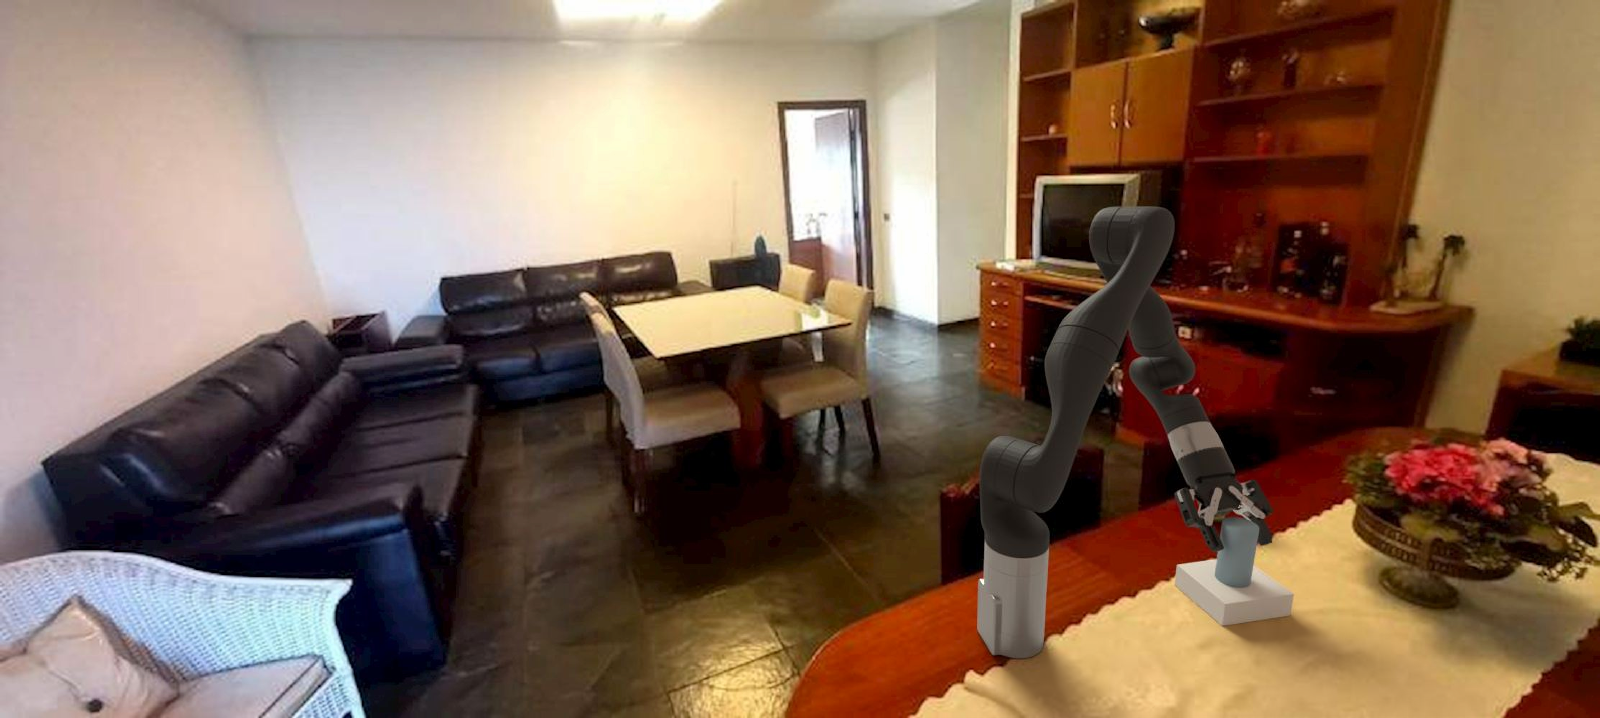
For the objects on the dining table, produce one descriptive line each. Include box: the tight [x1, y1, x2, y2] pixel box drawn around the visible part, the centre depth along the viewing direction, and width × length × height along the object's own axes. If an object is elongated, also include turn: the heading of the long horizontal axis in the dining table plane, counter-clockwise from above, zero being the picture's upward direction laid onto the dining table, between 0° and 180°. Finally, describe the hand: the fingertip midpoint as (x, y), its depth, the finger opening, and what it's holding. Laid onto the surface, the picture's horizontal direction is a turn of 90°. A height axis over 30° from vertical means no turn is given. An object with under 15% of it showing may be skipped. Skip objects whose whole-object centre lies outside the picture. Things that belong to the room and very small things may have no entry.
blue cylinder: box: [1215, 516, 1259, 588], centre depth 108 cm, size 5×5×10 cm
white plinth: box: [1174, 558, 1295, 627], centre depth 110 cm, size 12×11×4 cm
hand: (1242, 547), depth 107 cm, fingers open, 8 cm apart
